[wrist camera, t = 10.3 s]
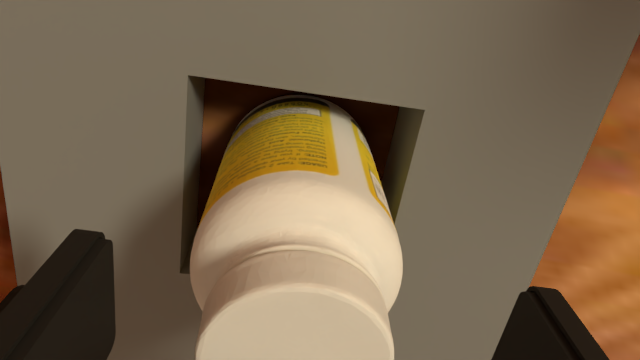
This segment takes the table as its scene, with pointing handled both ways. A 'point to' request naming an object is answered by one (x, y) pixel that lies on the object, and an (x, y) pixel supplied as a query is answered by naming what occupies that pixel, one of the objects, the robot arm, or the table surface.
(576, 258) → the table surface
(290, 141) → the supplement bottle
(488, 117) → the socket board
